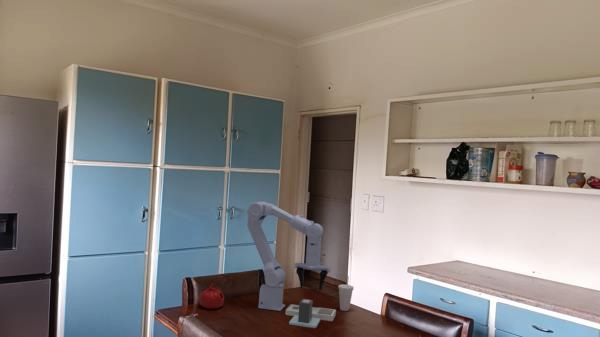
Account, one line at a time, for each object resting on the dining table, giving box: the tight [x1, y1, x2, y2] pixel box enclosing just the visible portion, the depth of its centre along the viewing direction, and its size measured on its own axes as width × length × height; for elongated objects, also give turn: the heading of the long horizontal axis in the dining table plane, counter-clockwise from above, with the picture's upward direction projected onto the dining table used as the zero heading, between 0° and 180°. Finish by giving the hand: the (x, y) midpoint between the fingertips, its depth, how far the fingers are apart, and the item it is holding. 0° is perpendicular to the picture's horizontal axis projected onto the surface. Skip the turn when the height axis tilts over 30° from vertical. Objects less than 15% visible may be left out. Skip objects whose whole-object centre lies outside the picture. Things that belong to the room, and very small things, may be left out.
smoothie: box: [338, 275, 355, 312], centre depth 183 cm, size 6×6×14 cm
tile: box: [288, 315, 321, 329], centre depth 163 cm, size 10×9×1 cm
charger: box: [298, 298, 314, 323], centre depth 163 cm, size 4×6×7 cm
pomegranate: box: [199, 282, 225, 310], centre depth 175 cm, size 10×10×9 cm
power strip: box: [285, 303, 337, 322], centre depth 173 cm, size 18×9×2 cm, turn 77°
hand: (311, 288), depth 175 cm, fingers open, 7 cm apart
